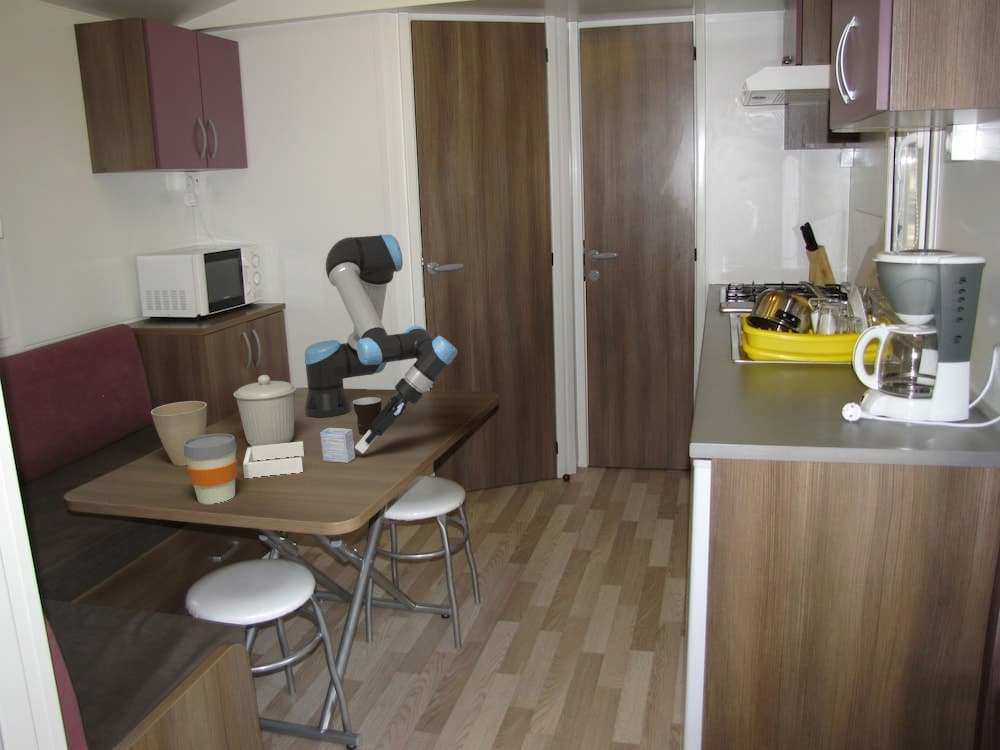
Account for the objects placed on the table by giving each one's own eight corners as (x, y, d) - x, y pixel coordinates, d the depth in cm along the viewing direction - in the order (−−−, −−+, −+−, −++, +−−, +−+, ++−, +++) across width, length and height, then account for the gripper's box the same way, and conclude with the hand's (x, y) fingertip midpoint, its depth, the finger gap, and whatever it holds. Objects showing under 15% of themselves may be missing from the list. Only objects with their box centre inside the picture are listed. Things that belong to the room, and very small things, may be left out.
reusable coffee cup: (179, 504, 224) (171, 446, 221) (212, 487, 236) (205, 431, 232) (221, 509, 220) (213, 449, 216) (252, 491, 231) (246, 434, 228)
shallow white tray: (249, 460, 257) (247, 446, 256) (304, 454, 259) (302, 441, 258) (244, 478, 241) (242, 464, 240) (302, 472, 244) (301, 458, 243)
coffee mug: (378, 436, 273) (375, 404, 271) (351, 436, 275) (348, 404, 273) (390, 425, 285) (388, 394, 282) (364, 425, 286) (361, 394, 284)
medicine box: (355, 458, 253) (353, 428, 251) (347, 463, 249) (344, 433, 247) (331, 456, 256) (328, 427, 254) (322, 461, 252) (319, 431, 250)
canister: (313, 441, 272) (307, 372, 267) (261, 456, 259) (253, 385, 255) (279, 431, 284) (272, 365, 280) (228, 446, 272) (219, 377, 267)
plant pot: (194, 450, 268) (187, 398, 265) (224, 458, 259) (217, 404, 256) (148, 464, 257) (140, 410, 254) (177, 473, 248) (169, 417, 244)
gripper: (426, 399, 246) (370, 465, 247) (421, 388, 259) (368, 451, 260) (405, 382, 244) (349, 448, 245) (401, 372, 257) (347, 435, 258)
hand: (358, 450), depth 252 cm, fingers closed
